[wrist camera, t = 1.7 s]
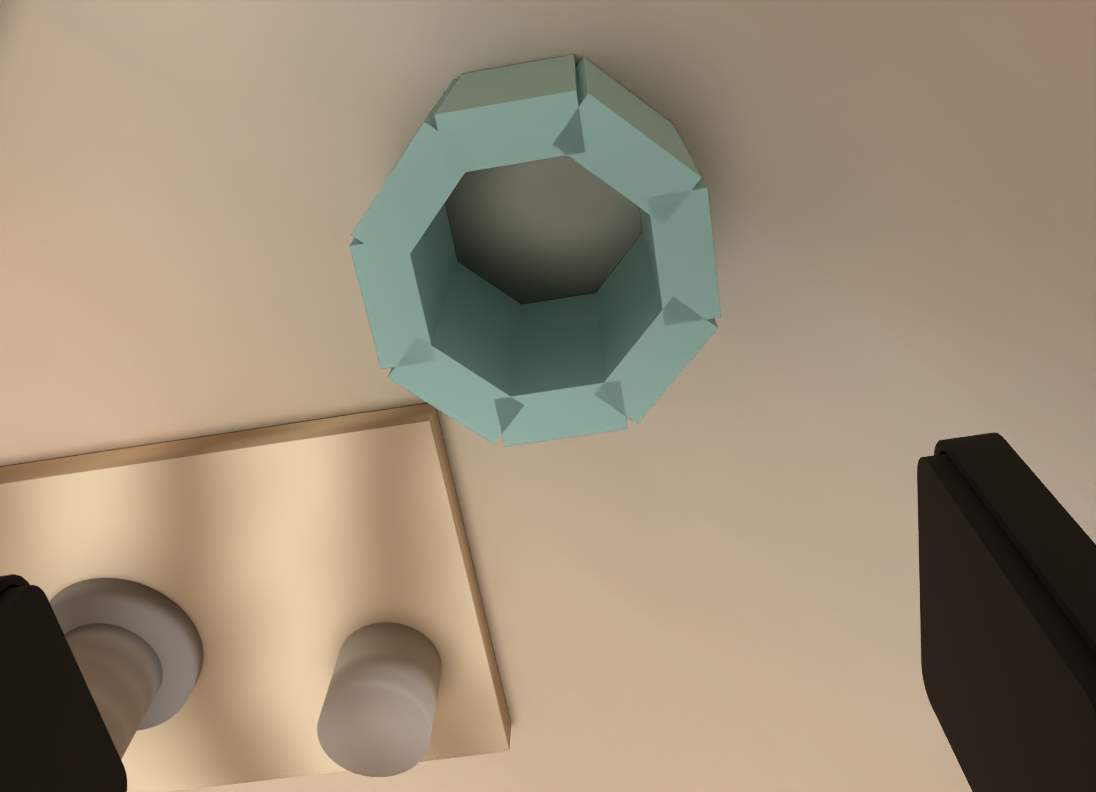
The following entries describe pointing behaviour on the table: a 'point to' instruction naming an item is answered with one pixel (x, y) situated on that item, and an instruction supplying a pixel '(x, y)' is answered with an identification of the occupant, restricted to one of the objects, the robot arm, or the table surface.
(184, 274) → the table surface
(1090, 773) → the robot arm
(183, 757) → the board
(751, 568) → the table surface
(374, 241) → the ring
